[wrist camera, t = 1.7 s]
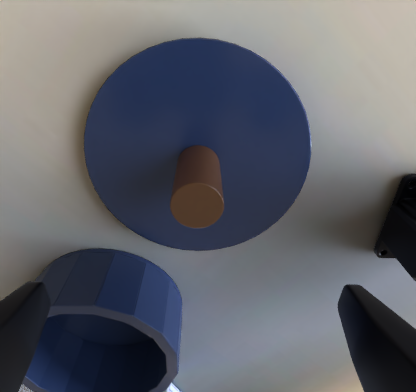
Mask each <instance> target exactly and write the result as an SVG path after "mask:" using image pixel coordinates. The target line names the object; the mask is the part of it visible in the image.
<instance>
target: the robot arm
mask: <svg viewBox="0 0 416 392" xmlns="http://www.w3.org/2000/svg"><path fill="white" fill-rule="evenodd" d="M411 181H413V182H412V183H411V184H409V183H410V182H411ZM382 250H383V251H382ZM374 253H375V254H376V255H377V256H378V257H379V258H396V259H397V260H398V261H399V262H400V263H401V265H402V266H403V267H404V268H405V270H406V271H407V272H408V273H409V274H410V276H411V277H412V278H413V279H414V280H415V281H416V174H409V175H407V176H405V177H404V178H403V179H402V180H401V182H400V185H399V187H398V190H397V192H396V195H395V197H394V200H393V202H392V205H391V207H390V210H389V212H388V215H387V217H386V220H385V222H384V225H383V227H382V230H381V232H380V235H379V238H378V240H377V243H376V245H375V248H374ZM50 305H51V301H50V297H49V295H48V292H47V289H46V286H45V284H44V283H43V282H41V281H30V282H27V283H25V284H24V285H22V286H21V287H20V288H18V289H17V290H15V291H14V292H13V293H11V294H10V295H8V296H7V297H6V298H4V299H3V300H1V301H0V392H18V391H19V389H20V387H21V384H22V382H23V380H24V378H25V376H26V373H27V371H28V369H29V367H30V364H31V362H32V360H33V357H34V354H35V351H36V348H37V345H38V342H39V339H40V336H41V334H42V331H43V328H44V325H45V322H46V319H47V316H48V313H49V310H50ZM338 312H339V315H340V319H341V322H342V326H343V330H344V333H345V337H346V340H347V344H348V348H349V351H350V355H351V358H352V361H353V364H354V367H355V369H356V372H357V374H358V377H359V380H360V382H361V385H362V387H363V390H364V392H416V329H415V328H413V327H412V326H411V325H410V324H408V323H407V322H406V321H405V320H403V319H402V318H401V317H400V316H398V315H397V314H396V313H395V312H393V311H392V310H391V309H389V308H388V307H387V306H386V305H384V304H383V303H382V302H381V301H379V300H378V299H377V298H376V297H374V296H373V295H372V294H371V293H369V292H368V291H367V290H366V289H364V288H363V287H362V286H360V285H345V286H344V288H343V290H342V293H341V296H340V298H339V301H338Z"/></svg>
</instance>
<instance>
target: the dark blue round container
mask: <svg viewBox="0 0 416 392" xmlns="http://www.w3.org/2000/svg"><path fill="white" fill-rule="evenodd" d="M35 281H41V282H43V283H44V284H45V286H46V289H47V292H48V295H49V297H50V301H51V305H50V310H49V313H48V316H47V319H46V322H45V325H44V328H43V331H42V334H41V336H40V339H39V342H38V345H37V348H36V351H35V354H34V357H33V360H32V362H31V364H30V367H29V369H28V371H27V373H26V376H25V378H24V380H23V382H22V384H24V385H25V386H26V387H27V388H29V389H30V390H32V391H34V392H163V391H165V390H167V388H168V387H169V386H170V384H171V383H172V381H173V380H174V378H175V377H176V375H177V374H178V367H179V354H180V340H181V326H182V299H181V295H180V292H179V290H178V288H177V286H176V284H175V283H174V281H173V280H172V279H171V278H170V277H169V275H168V274H167V273H166V272H164V271H163V270H162V269H161V268H159V267H158V266H157V265H155V264H153V263H152V262H150V261H148V260H146V259H144V258H142V257H139V256H137V255H134V254H131V253H127V252H123V251H118V250H112V249H87V250H80V251H76V252H72V253H69V254H66V255H64V256H62V257H60V258H58V259H56V260H55V261H53V262H52V263H51V264H49V265H48V266H47V267H46V268H45V270H44V271H43V272H42V273H41V274H40V275H39V276H38V277H37V279H36V280H35Z"/></svg>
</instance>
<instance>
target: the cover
mask: <svg viewBox="0 0 416 392" xmlns="http://www.w3.org/2000/svg"><path fill="white" fill-rule="evenodd" d="M84 152H85V160H86V165H87V169H88V173H89V176H90V179H91V181H92V183H93V186H94V188H95V190H96V192H97V193H98V195H99V197H100V199H101V200H102V202H103V203H104V204H105V206H106V207H107V208H108V210H109V211H110V212H111V213H112V214H113V215H114V216H115V217H116V218H117V219H118V220H119V221H120V222H122V223H123V224H124V225H125V226H126V227H128V228H129V229H131V230H132V231H134V232H135V233H137V234H138V235H140V236H142V237H144V238H146V239H148V240H150V241H153V242H155V243H158V244H161V245H164V246H168V247H171V248H176V249H182V250H194V251H203V250H215V249H222V248H226V247H230V246H234V245H237V244H240V243H242V242H245V241H247V240H249V239H251V238H253V237H256V236H257V235H259V234H260V233H262V232H264V231H265V230H267V229H268V228H269V227H271V226H272V225H273V224H274V223H276V222H277V221H278V220H279V219H280V218H281V217H282V216H283V215H284V214H285V213H286V212H287V210H288V209H289V208H290V207H291V205H292V204H293V203H294V201H295V199H296V198H297V196H298V194H299V193H300V191H301V188H302V186H303V184H304V182H305V179H306V176H307V172H308V169H309V164H310V157H311V134H310V126H309V122H308V119H307V115H306V112H305V109H304V107H303V105H302V103H301V100H300V98H299V96H298V95H297V93H296V92H295V90H294V88H293V87H292V85H291V84H290V83H289V81H288V80H287V79H286V78H285V77H284V76H283V75H282V74H281V72H280V71H279V70H277V69H276V68H275V67H274V66H273V65H271V64H270V63H269V62H268V61H267V60H265V59H264V58H262V57H260V56H259V55H257V54H255V53H254V52H252V51H250V50H248V49H246V48H243V47H241V46H239V45H236V44H233V43H229V42H226V41H222V40H218V39H208V38H182V39H177V40H172V41H167V42H163V43H160V44H158V45H155V46H152V47H149V48H147V49H145V50H143V51H142V52H140V53H138V54H136V55H134V56H132V57H131V58H130V59H128V60H127V61H126V62H124V63H123V64H122V65H120V66H119V67H118V68H117V69H116V70H115V71H114V72H113V73H112V74H111V75H110V76H109V77H108V78H107V80H106V81H105V83H104V84H103V85H102V87H101V88H100V90H99V91H98V93H97V95H96V97H95V99H94V101H93V103H92V105H91V108H90V111H89V114H88V117H87V121H86V127H85V133H84Z"/></svg>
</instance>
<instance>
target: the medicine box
mask: <svg viewBox="0 0 416 392" xmlns="http://www.w3.org/2000/svg"><path fill="white" fill-rule="evenodd" d="M163 392H180V391H179V390H178V389H177V388H176V387H175V386H174V385H173V384H172V383H171V384H170V386H169V387H168V388H167V390H165V391H163Z"/></svg>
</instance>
